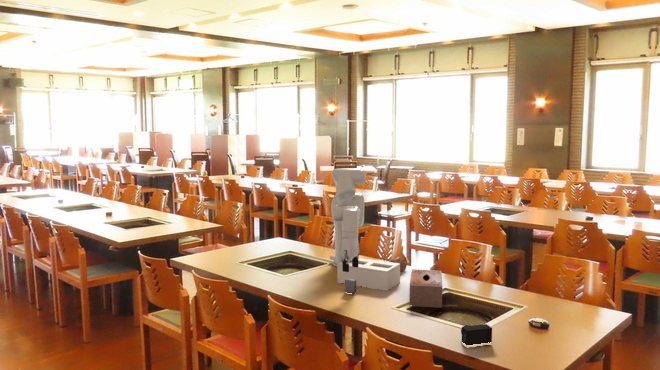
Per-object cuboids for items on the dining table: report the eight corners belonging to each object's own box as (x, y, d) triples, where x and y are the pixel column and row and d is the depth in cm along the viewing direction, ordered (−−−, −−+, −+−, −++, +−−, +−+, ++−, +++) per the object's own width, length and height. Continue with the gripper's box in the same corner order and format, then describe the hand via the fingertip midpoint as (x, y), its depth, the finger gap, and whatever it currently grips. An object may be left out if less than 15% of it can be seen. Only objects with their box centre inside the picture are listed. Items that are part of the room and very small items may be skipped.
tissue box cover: (441, 308, 250) (442, 286, 249) (409, 306, 252) (409, 285, 251) (441, 290, 275) (441, 270, 274) (411, 288, 278) (411, 269, 276)
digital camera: (484, 340, 214) (485, 322, 213) (491, 345, 209) (492, 327, 208) (459, 342, 212) (460, 325, 211) (466, 348, 207) (467, 330, 206)
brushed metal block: (344, 293, 271) (344, 279, 270) (347, 292, 273) (347, 278, 272) (353, 295, 268) (353, 281, 267) (356, 293, 270) (356, 279, 269)
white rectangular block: (337, 282, 288) (337, 263, 286) (352, 274, 301) (351, 256, 300) (387, 291, 274) (387, 271, 272) (400, 282, 287) (400, 263, 286)
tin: (393, 276, 298) (393, 261, 297) (388, 275, 300) (388, 260, 299) (407, 270, 310) (407, 255, 309) (402, 269, 312) (402, 254, 311)
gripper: (351, 230, 276) (352, 264, 278) (334, 236, 261) (334, 272, 263) (365, 231, 272) (365, 266, 274) (348, 238, 257) (349, 274, 259)
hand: (350, 269), depth 268 cm, fingers open, 9 cm apart
